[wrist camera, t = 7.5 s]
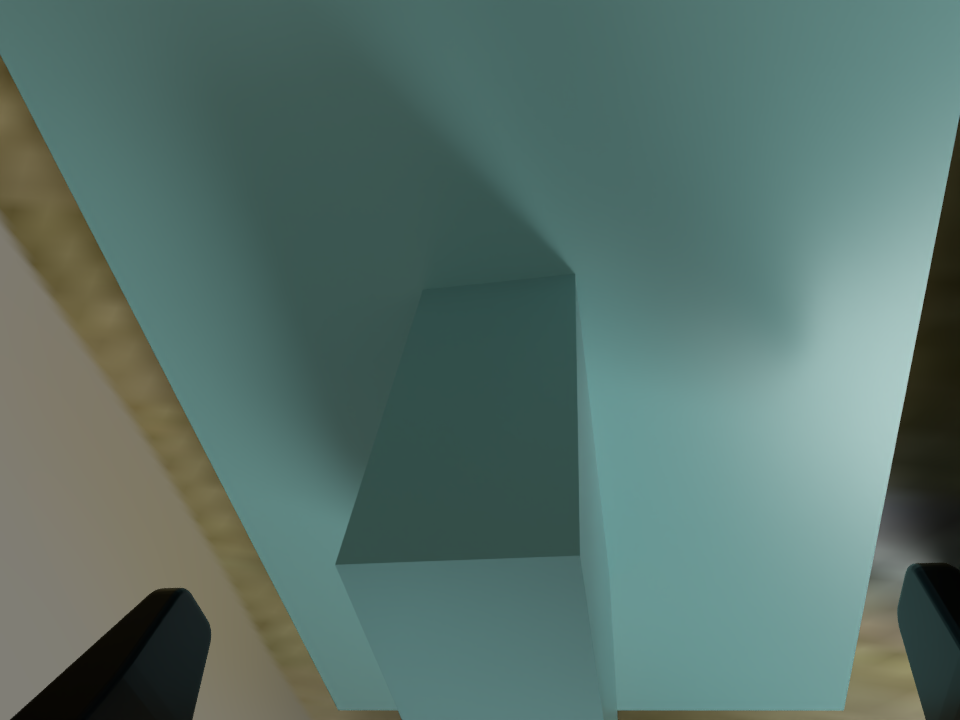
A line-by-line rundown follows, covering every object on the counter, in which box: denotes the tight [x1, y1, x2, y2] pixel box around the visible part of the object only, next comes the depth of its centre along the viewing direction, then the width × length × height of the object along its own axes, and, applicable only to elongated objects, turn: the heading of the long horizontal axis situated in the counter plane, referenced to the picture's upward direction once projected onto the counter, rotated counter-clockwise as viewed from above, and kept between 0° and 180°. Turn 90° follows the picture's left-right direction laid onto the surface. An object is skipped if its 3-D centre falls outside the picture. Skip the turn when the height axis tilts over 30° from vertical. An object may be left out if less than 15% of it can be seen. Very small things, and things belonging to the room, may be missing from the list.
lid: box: [0, 0, 960, 720], centre depth 10 cm, size 14×10×7 cm
